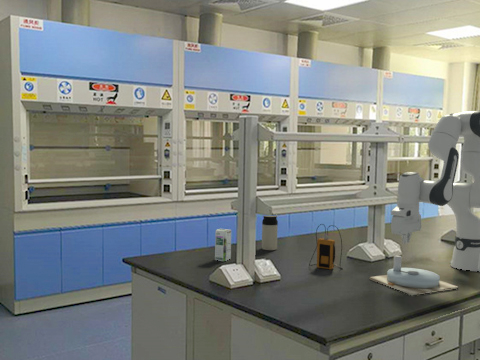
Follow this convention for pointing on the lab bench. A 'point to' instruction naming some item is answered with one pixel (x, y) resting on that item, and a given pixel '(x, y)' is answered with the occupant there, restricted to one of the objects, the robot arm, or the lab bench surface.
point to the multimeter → (326, 252)
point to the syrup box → (222, 244)
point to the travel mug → (269, 233)
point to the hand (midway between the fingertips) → (405, 243)
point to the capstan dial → (411, 276)
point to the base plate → (411, 290)
